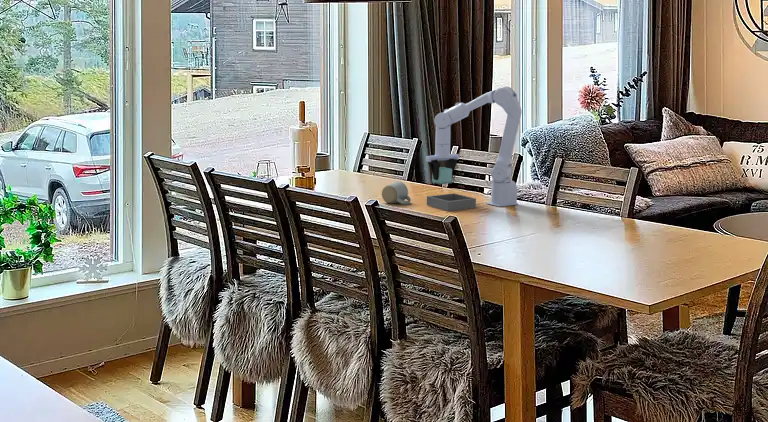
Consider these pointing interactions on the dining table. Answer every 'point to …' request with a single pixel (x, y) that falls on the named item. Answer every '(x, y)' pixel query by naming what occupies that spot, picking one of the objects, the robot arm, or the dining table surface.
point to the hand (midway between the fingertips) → (442, 179)
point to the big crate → (451, 202)
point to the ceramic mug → (396, 193)
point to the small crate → (443, 176)
